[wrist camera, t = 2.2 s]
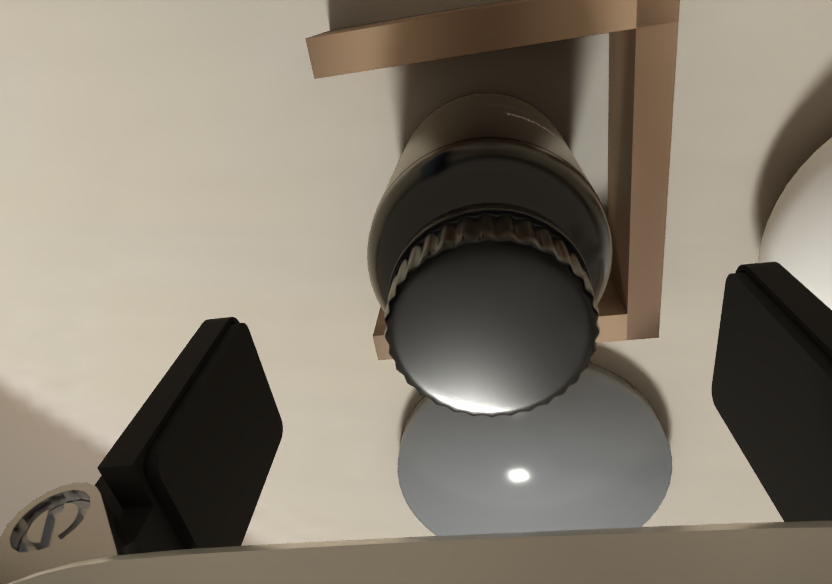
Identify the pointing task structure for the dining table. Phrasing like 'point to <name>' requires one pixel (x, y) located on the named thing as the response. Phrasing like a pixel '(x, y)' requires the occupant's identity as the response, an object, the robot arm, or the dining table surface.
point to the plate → (538, 463)
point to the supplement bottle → (489, 259)
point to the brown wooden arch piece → (628, 116)
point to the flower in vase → (804, 226)
